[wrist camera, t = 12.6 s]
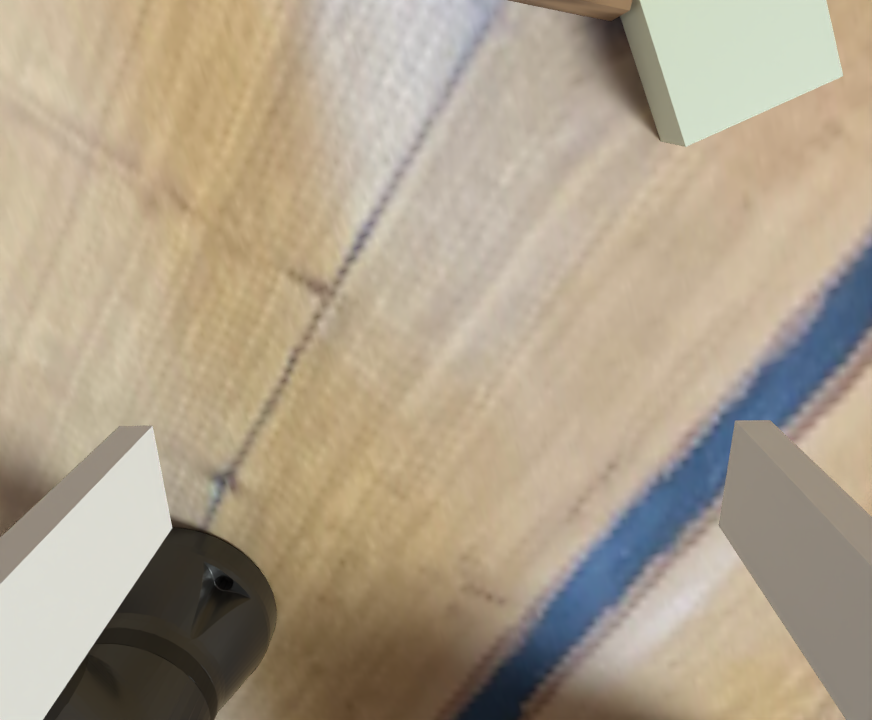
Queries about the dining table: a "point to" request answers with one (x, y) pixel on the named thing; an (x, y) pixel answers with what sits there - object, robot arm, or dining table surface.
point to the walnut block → (585, 7)
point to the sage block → (726, 59)
